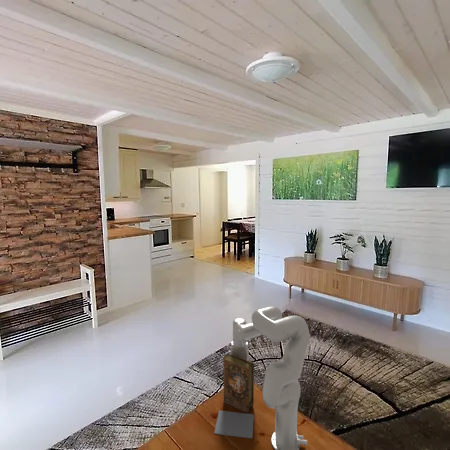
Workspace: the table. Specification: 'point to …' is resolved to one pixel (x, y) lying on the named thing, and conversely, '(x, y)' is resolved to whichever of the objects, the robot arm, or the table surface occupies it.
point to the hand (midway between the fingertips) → (239, 371)
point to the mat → (234, 424)
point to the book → (238, 382)
